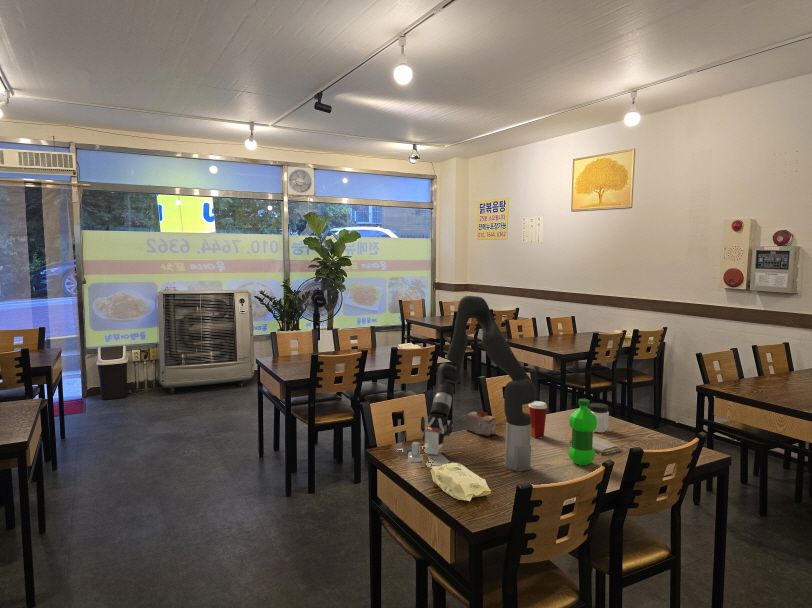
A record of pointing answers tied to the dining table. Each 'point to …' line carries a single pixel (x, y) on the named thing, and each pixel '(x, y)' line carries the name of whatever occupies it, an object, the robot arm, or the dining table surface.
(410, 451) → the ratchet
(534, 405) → the coffee cup
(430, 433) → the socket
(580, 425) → the plastic bottle
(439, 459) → the mat
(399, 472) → the dining table surface
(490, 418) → the food item
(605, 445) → the washcloth
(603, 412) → the jar
